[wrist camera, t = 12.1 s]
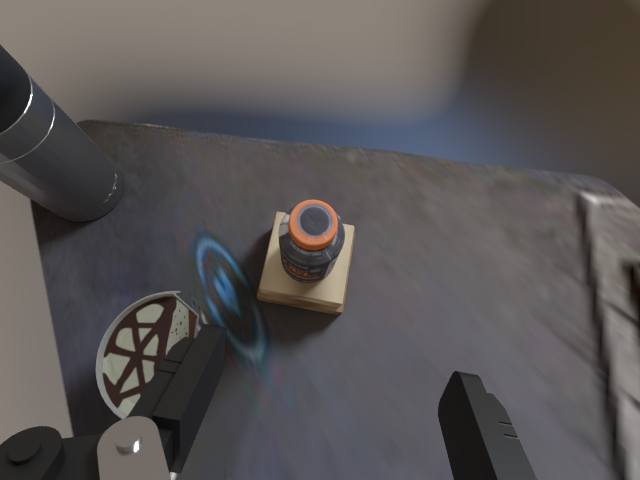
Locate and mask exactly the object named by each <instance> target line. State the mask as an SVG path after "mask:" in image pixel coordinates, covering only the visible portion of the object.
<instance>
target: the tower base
mask: <svg viewBox="0 0 640 480" xmlns="http://www.w3.org/2000/svg"><path fill="white" fill-rule="evenodd" d="M285 214H286V213H283V212H277V214H276V217H275V219H274V223H273V228H272V232H271V236H270V241H269V245H268V249H267V254H266V258H265V262H264V266H263V271H262V275H261V279H260V284H259V288H258V292H257V298H258V300H259V301H264V302H270V303H275V304H281V305H286V306H291V307H297V308H302V309H308V310H313V311H318V312H324V313H329V314H335V315H341V314H342V313H343V308H344V302H345V295H346V288H347V282H348V275H349V269H350V262H351V255H352V249H353V242H354V236H355V231H354V226H352V225H346V224H343V226H344V230H345V240H344V244H343V247H342V249H341V251H340V254H339V256H338V258H337V260H336V262H335V265H334V267H333V269H332V271H331V272H330V274H329V275H328V276H327V277H325V278H324V279H322V280H321V281H318V282H315V283H301V282H298V281H296V280H294V279H292V278H291V277H290V276H289V275H288V274H287V273H286V272H285V270H284V268H283V265H282V262H281V254H280V246H279V237H278V232H279V226H280V223H281V221H282V219H283V217H284V215H285Z"/></svg>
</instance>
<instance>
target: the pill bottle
mask: <svg viewBox="0 0 640 480" xmlns="http://www.w3.org/2000/svg"><path fill="white" fill-rule="evenodd" d="M278 237H279V246H280V254H281V262H282V265H283V268H284V270H285V272H286V273H287V274H288V275H289V276H290V277H291V278H292V279H294V280H296V281H298V282H301V283H315V282H318V281H321V280H322V279H324V278H325V277H327V276H328V275H329V274H330V272H331V271H332V269H333V267H334V265H335V262H336V260H337V258H338V256H339V254H340V251H341V249H342V247H343V244H344V240H345V230H344V226H343V223H342V221H341V219H340V217H339V216H338V215H337V214H336V212H335V211H334V210H333V209H332V208H331V207H330V206H329V205H327V204H326V203H324V202H322V201H319V200H307V201H304V202H301V203H300V204H298V205H297V206H295V207H293V208H292V209H290V210H289V211H288V212H287V213H286V214H285V215H284V217H283V219H282V221H281V223H280V226H279V232H278Z"/></svg>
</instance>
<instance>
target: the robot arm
mask: <svg viewBox="0 0 640 480" xmlns="http://www.w3.org/2000/svg"><path fill="white" fill-rule="evenodd" d="M0 181H2V182H3V183H5V184H7V185H8V186H10V187H12V188H13V189H15V190H17V191H18V192H20V193H22V194H23V195H25V196H27V197H28V198H30V199H32V200H33V201H35V202H37V203H38V204H40V205H41V206H43V207H45V208H47V209H48V210H50V211H52V212H53V213H55V214H57V215H58V216H60V217H62V218H64V219H66V220H69V221H74V222H86V221H91V220H94V219H97V218H100V217H102V216H103V215H105V214H107V213H108V212H109V211H110V210H111V209H113V208H114V206H115V205H116V204H117V203H118V201H119V199H120V197H121V195H122V192H123V178H122V175H121V173H120V171H119V170H118V168H117V167H116V166H115V165H114V164H113V163H112V162H111V161H110V160H109V159H108V158H107V157H106V156H105V154H104V153H103V152H102V151H101V150H100V149H99V148H98V147H97V146H96V145H95V144H94V143H93V142H92V140H91V139H90V138H89V137H88V136H87V135H86V134H85V133H84V132H83V131H82V130H81V129H80V128H79V127H78V126H77V125H76V123H75V122H74V121H73V120H72V119H71V118H70V117H69V116H68V115H67V114H66V113H65V112H64V111H63V110H62V109H61V108H60V107H59V106H58V105H57V103H56V102H55V101H54V100H53V99H52V98H51V97H50V96H49V95H48V94H47V93H46V92H45V91H44V90H43V89H42V88H41V87H40V86H39V85H38V83H37V82H36V81H35V80H34V79H33V78H32V77H31V76H30V75H29V74H28V73H27V72H26V71H25V70H24V69H23V68H22V67H21V66H20V65H19V63H18V62H17V61H16V60H15V59H14V58H13V57H12V56H11V55H10V54H9V53H8V52H7V51H6V50H5V49H4V48H3V47H2V46H1V45H0ZM225 345H226V328H224V327H218V326H213V325H207V324H204V325H203V326H202V328H201V330H200V331H199V333H198V335H197V337H196V338H191V337H184V338H182V339H181V340H180V341H178V342H177V343H176V344H174V345H173V346H172V347H171V349H170V350H169V352H168V353H167V355H166V357H165V358H164V361H162V363H161V364H160V366H159V368H158V369H157V372H155V374H154V376H153V377H152V379H151V380H150V382H149V383H148V385H147V387H146V388H145V390H144V391H143V393H142V395H141V396H140V398H139V399H138V401H137V402H136V404H135V406H134V407H133V409H132V410H131V412H130V413H129V415H128V416H127V417H126V418H125V419H122V420H120V421H118V422H116V423H115V424H113V425H112V426H111V427H109V428H108V429H107V430H106V431H104V432H101V433H98V434H93V435H87V436H79V437H71V438H64V439H62V438H61V435H60V433H59V432H58V431H57V430H56V429H54V428H51V427H47V426H39V427H33V428H29V429H26V430H23V431H21V432H19V433H17V434H15V435H13V436H11V437H10V438H9V439H7V440H6V441H5V442H3V443H2V444H1V445H0V480H171V478H170V475H169V473H170V472H175V473H180V474H181V471H182V469H183V466H184V464H185V462H186V459H187V457H188V454H189V452H190V449H191V447H192V445H193V442H194V440H195V437H196V435H197V433H198V430H199V428H200V425H201V423H202V420H203V418H204V416H205V413H206V411H207V408H208V406H209V404H210V401H211V399H212V396H213V394H214V391H215V389H216V387H217V384H218V382H219V379H220V377H221V374H222V370H223V366H224V360H225ZM438 417H439V422H440V426H441V430H442V434H443V438H444V442H445V446H446V450H447V454H448V458H449V462H450V466H451V470H452V474H453V478H454V480H537V478H536V476H535V474H534V472H533V470H532V467H531V465H530V463H529V461H528V458H527V456H526V454H525V452H524V450H523V447H522V445H521V443H520V441H519V439H517V434H516V432H515V430H514V428H513V427H512V426H511V424H512V423H511V421H510V419H509V417H508V414H507V412H506V410H505V408H504V407H503V406H502V404H501V403H500V402H499V401H498V400H497V398H496V397H495V396H494V395H493V394H490V393H486V390H485V388H484V385H483V383H482V381H481V379H480V377H479V376H478V375H474V374H469V373H463V372H458V371H455V372H453V374H452V376H451V378H450V380H449V382H448V384H447V386H446V388H445V390H444V393H443V395H442V397H441V399H440V402H439V406H438Z"/></svg>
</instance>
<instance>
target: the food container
mask: <svg viewBox="0 0 640 480" xmlns="http://www.w3.org/2000/svg"><path fill="white" fill-rule="evenodd" d="M176 293H180V291H167V292H161V293H156V294H153V295H150V296H146V297H144V298H142V299H140V300H138V301H136V302H135V303H133V304H132V305H130V306H129V307H127V308H126V309H125V310H124V311H123V312H122V313H121V314H120V315H119V316H118V317H117V318H116V319H115V320H114V321H113V323H112V324H111V325H110V327H109V328H108V330H107V331H106V333H105V335H104V337H103V339H102V341H101V343H100V347H99V350H98V353H97V360H96V378H97V384H98V388H99V390H100V393H101V396H102V397H103V399H104V401H105V403H106V404H107V406H108V407H109V408H110V409H111V410H112V412H113V413H114V414H116V415H117V416H118V417H119V418H121V419H125V418H126V417H127V416H128V415H129V413H130V412H131V410H132V409H133V407H134V406H135V404H136V402H137V401H138V399H139V398H140V396H141V395H142V393H143V391H144V390H145V388H146V387H147V385H148V383H149V382H150V380H151V379H152V377H153V376H154V374H155V372H157V369H158V368H159V366H160V364H161V363H162V361H164V358H165V357H166V355H167V353H168V352H169V350H170V349H171V347H172V346H173V345H174V344H176V343H177V342H178V341H180V340H181V339H182V338H184V337H191V338H196V332H197V325H198V318H199V315H198V314H197V313H196V312H195V311H194V310H193V309H192V308H191V307H189V306H188V305H187V304H186V303H185V302H184V301H183V300H182V299H180V298H179V297H178V296H177V295H176Z"/></svg>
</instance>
